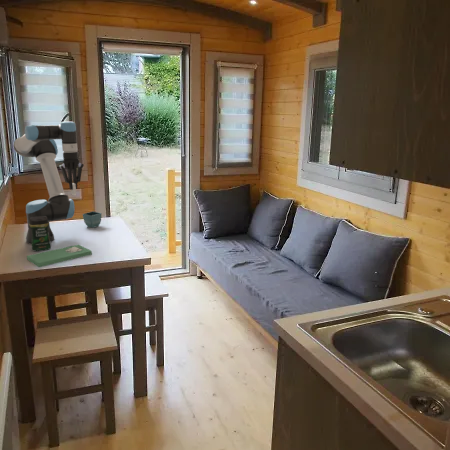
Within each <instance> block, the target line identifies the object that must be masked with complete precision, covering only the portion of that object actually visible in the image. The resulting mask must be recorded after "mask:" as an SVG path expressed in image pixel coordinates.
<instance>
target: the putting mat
mask: <svg viewBox="0 0 450 450" xmlns="http://www.w3.org/2000/svg"><path fill="white" fill-rule="evenodd" d="M72 247H76V248H77V249H78V251H74V252H72V251H71V248H72ZM92 254H93V253H92V250H91V249H88V248H87V247H84V246H83V245H81V244H75V245H71V246H65V247H61V248H56V249H51V250H46V251H41V252H39V253H34V254H33V253H32V254H30V255H26V259H27V261H29V262H30V263H32V264H33V265H34V266H36V267H38V268H42V267H45V266H49V265H54V264H57V263H62V262H66V261H70V260H74V259H78V258H81V257H87V256H91V255H92Z"/></svg>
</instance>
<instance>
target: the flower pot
mask: <svg viewBox="0 0 450 450" xmlns="http://www.w3.org/2000/svg"><path fill="white" fill-rule="evenodd" d="M82 218H83V222H84V224H85V225H86V226H87V228H92V229H93V228H96V227H97V228H98V227H99V226H100V224H101V222H102V212H98V211H89V212H86V213H82Z"/></svg>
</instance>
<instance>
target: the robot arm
mask: <svg viewBox="0 0 450 450" xmlns="http://www.w3.org/2000/svg"><path fill="white" fill-rule="evenodd" d="M76 126H77V125H76V123H75V122H74V121H61V122H60V124H49V125H48V124H47V125H43V124H41V125H38V124H37V125H36V124H34V125H33V124H32V125H26V126H25V128H24V134H23V135H22V136H19V137H17V138H16V139H15V140H14V142H13V150H14V151H15V152H16V153H17V154H18V155H20V156H22V157H25V158H35V160H36V162H38V163H39V164H40V167H41V170H42V171H41V172H42V175H43V177H44V181H45V185H46V189H47V192H48V195H49V198H48V199H36V200H33V201H29V202H28V203H27V204H26V205H25V214H26V223H27V232H26V236H25V237H26V238H25V239H26V240H25V241H26V243H27V244H30V245H32V231H31V227H30V225H29V222H30V217H38V216H46V217H47V219H48V222H49V224H48V234H49V239H50V243H51V242H53V241H55V235H54V233H53V230H52V228H51V225H50V222H56V221H62V220H63V221H64V220H68V219H69V220H70V219H72V218H73V217H74V215H75V210H76V209H75V201H74V200H73V199H72V198H70V197H69V195H68V194H66V193H65V190H64V187H63V184H62V180H61V177H60V174H59V170H58V168H57V167H59V169H60V171H61V174H62V176H63V179H64V181H65V183H67V184H68V185H69V186H68V187H69V188H68V189H69V190H70V191H71V195H72V196H74V197H76V196H77V189H78V183H80V182H81V179H82V173H83V171H82V170H83V167H85V165H84V164H83V163H81V162H80V160H79V153H78V150H79V149H78V139H77V127H76ZM55 140H61V146H62V156H63V157H62V158H63V162H62V164H60V165H58V166H57V163H56V160H55V159H56V158H57V156H58V153H59V151H58V145H57V143H56V141H55Z"/></svg>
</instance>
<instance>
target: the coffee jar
mask: <svg viewBox="0 0 450 450" xmlns="http://www.w3.org/2000/svg"><path fill="white" fill-rule="evenodd" d="M48 224H50V222H48V219H47V217H46V216H38V217H30V222H29V225H30V227H31V231H32V244H31V250H32V251H34V252H45V251H50V249H51V242H50V239H49V234H48Z"/></svg>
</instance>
